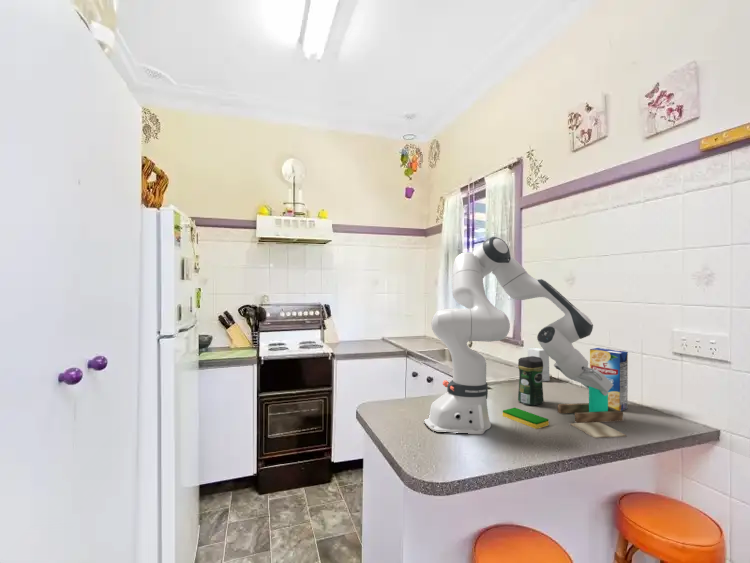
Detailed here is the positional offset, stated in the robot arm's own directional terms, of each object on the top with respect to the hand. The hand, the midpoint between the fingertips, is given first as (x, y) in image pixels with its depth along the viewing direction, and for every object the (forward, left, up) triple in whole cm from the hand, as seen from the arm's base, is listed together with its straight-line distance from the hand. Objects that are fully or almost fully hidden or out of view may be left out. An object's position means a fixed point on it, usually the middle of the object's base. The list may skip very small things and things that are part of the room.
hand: (598, 391), depth 132 cm
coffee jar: (-16, +17, -9) cm, 25 cm away
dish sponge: (-29, -1, -10) cm, 31 cm away
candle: (0, 0, -9) cm, 9 cm away
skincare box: (+9, +51, -9) cm, 53 cm away
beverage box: (+13, +10, -9) cm, 19 cm away
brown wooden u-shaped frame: (-4, 0, -9) cm, 10 cm away
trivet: (-10, -12, -9) cm, 18 cm away
